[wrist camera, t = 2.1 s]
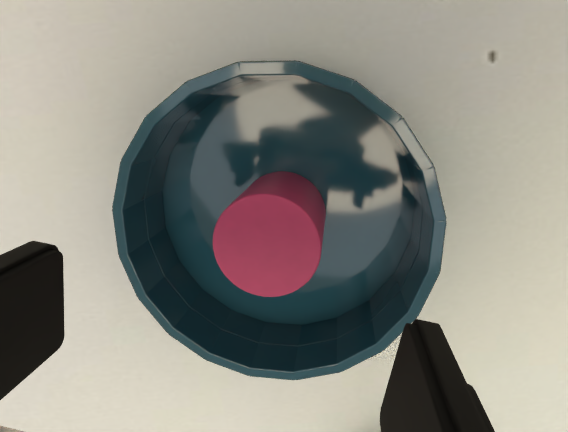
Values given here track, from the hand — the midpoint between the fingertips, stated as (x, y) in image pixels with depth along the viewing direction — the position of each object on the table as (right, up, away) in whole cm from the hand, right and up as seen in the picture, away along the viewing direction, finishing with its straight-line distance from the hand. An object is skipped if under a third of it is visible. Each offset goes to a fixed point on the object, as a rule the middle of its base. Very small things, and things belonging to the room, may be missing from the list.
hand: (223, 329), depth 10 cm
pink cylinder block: (+2, +3, +10) cm, 11 cm away
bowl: (+2, +3, +10) cm, 11 cm away
